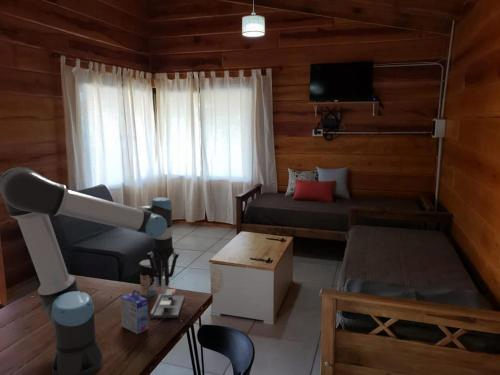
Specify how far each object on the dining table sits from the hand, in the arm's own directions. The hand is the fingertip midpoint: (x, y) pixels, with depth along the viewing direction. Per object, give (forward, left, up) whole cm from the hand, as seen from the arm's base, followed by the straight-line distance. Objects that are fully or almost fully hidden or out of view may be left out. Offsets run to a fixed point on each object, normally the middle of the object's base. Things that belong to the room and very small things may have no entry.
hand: (164, 292), depth 155 cm
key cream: (0, 0, -6) cm, 6 cm away
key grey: (+5, 0, -4) cm, 6 cm away
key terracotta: (+10, 0, -6) cm, 12 cm away
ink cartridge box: (-10, +9, -10) cm, 17 cm away
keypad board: (+5, 0, -9) cm, 11 cm away
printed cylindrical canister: (+19, +11, -10) cm, 24 cm away
